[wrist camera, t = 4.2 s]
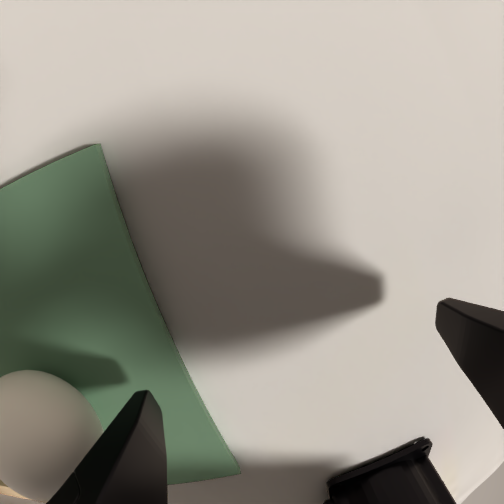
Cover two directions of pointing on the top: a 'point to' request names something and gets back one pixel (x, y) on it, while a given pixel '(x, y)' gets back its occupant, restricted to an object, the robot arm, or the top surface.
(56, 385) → the golf ball
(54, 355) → the putting mat
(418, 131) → the top surface
